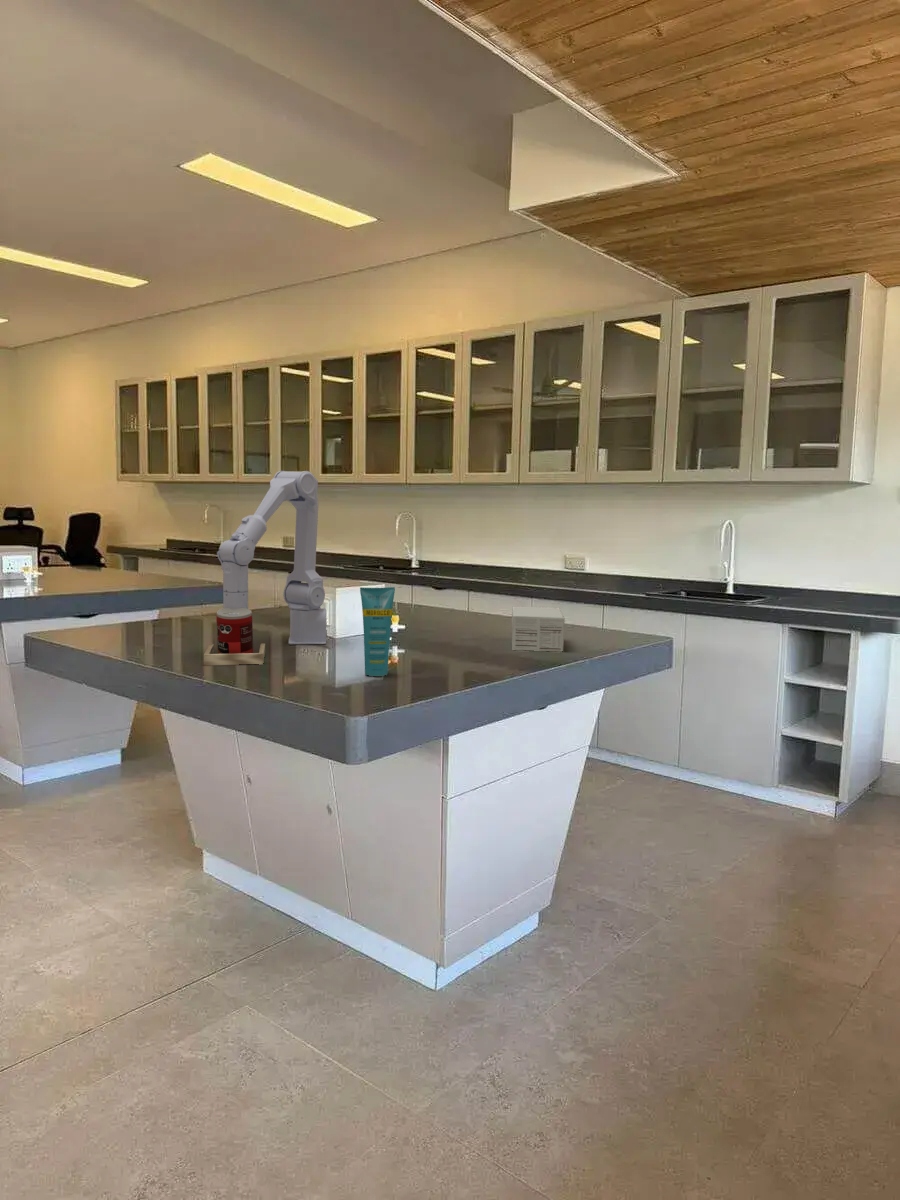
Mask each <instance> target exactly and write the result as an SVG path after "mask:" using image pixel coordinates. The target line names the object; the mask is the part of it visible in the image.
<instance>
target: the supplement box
mask: <svg viewBox="0 0 900 1200" xmlns="http://www.w3.org/2000/svg"><path fill="white" fill-rule="evenodd" d="M511 610H512V611H511V651H512V650H534V651H563V652H564V645H565V644H564V643H565V642H564V640H565V639H564V638H565V617H564V614H563V612H562V610H561V608H560V607H553V606H552V607H551V606H550V607H548V606H546V607H545V606H542V607H541V606H519V605H517V606H512V609H511Z"/></svg>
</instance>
